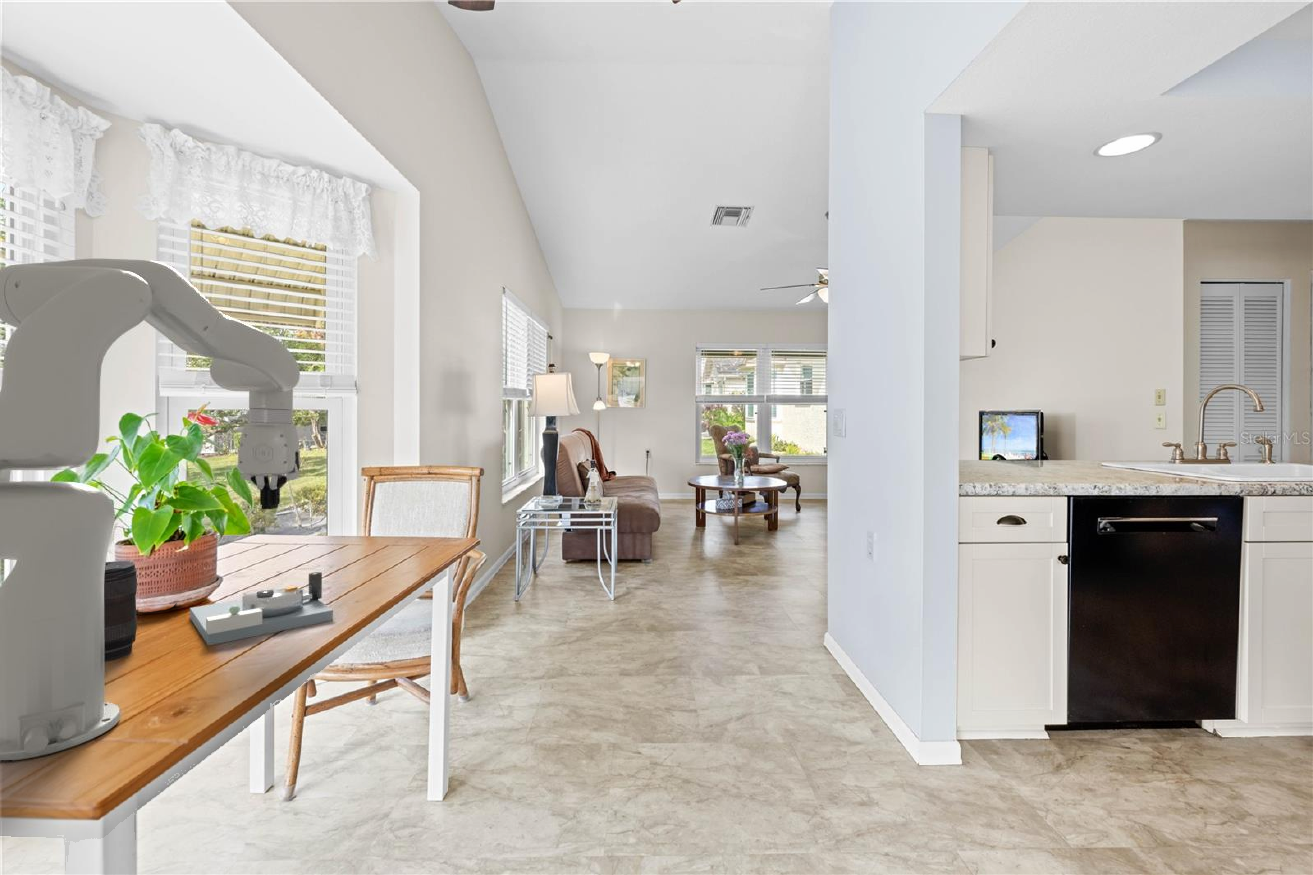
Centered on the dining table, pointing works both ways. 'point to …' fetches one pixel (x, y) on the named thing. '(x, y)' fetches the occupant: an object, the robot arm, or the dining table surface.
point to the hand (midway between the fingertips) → (269, 508)
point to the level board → (268, 622)
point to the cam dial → (282, 597)
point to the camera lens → (119, 608)
